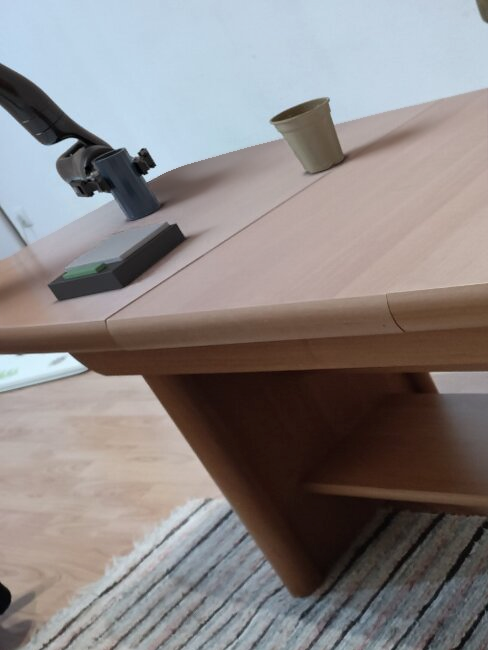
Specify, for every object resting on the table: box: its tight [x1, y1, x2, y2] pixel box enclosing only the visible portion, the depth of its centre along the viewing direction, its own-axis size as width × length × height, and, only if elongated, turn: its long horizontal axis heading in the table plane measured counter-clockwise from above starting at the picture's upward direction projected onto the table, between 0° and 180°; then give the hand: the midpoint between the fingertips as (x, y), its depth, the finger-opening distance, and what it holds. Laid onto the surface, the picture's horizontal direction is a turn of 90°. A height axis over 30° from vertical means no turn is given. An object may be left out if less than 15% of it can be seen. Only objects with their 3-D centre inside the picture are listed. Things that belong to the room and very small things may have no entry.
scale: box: [46, 221, 187, 301], centre depth 119 cm, size 12×14×3 cm
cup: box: [91, 147, 162, 221], centre depth 142 cm, size 6×6×10 cm
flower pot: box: [268, 96, 345, 174], centre depth 131 cm, size 9×9×9 cm
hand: (124, 176), depth 139 cm, fingers closed on cup, 5 cm apart
